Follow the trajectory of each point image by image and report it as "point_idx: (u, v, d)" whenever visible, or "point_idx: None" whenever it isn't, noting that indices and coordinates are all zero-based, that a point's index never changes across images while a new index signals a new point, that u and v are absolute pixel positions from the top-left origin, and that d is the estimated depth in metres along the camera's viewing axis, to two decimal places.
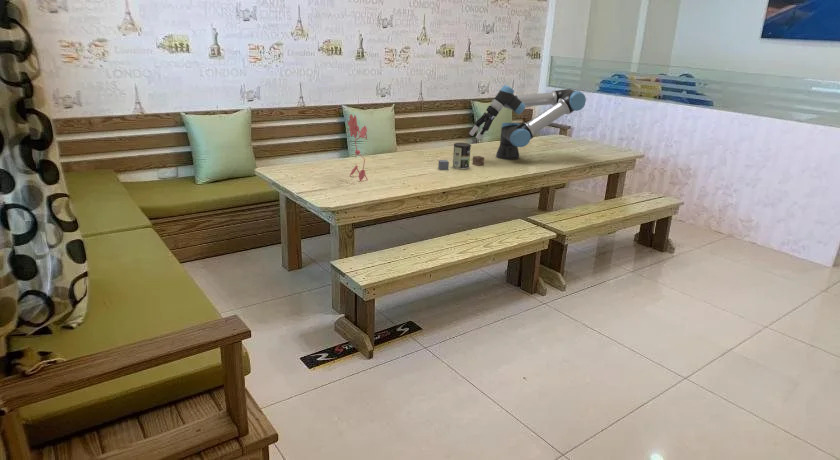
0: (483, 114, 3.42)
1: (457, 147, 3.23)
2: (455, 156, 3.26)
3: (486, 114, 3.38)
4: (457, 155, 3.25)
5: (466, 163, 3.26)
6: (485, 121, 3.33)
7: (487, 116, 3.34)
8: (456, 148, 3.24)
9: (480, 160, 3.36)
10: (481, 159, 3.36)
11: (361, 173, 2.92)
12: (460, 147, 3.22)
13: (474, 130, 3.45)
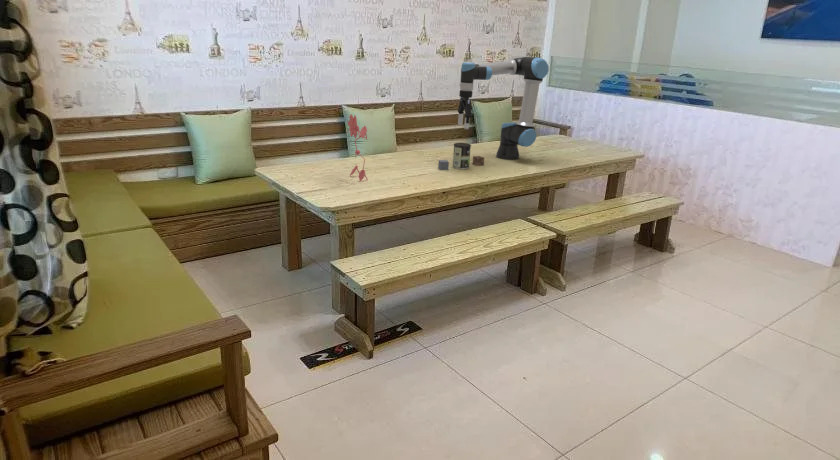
0: (460, 100, 3.24)
1: (457, 147, 3.23)
2: (455, 156, 3.26)
3: (462, 99, 3.20)
4: (457, 155, 3.25)
5: (466, 163, 3.26)
6: (464, 108, 3.15)
7: (463, 102, 3.16)
8: (456, 148, 3.24)
9: (480, 160, 3.36)
10: (481, 159, 3.36)
11: (361, 173, 2.92)
12: (460, 147, 3.22)
13: (461, 119, 3.28)
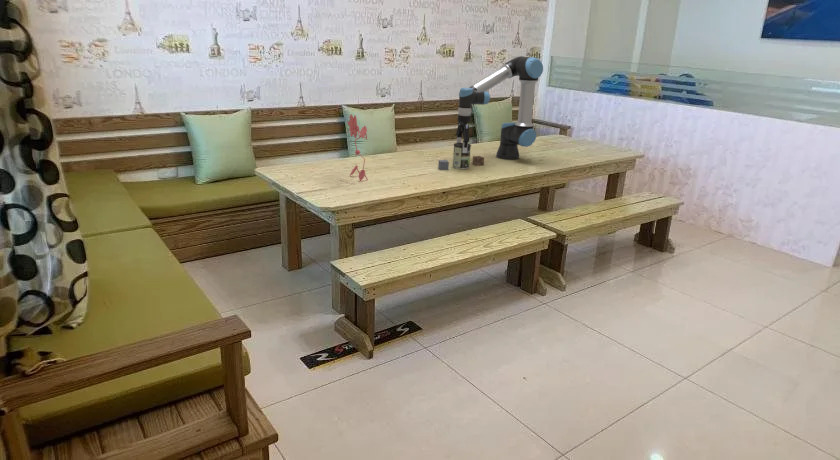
0: (458, 124, 3.28)
1: (457, 147, 3.23)
2: (455, 156, 3.26)
3: (460, 123, 3.24)
4: (457, 155, 3.25)
5: (466, 163, 3.26)
6: (462, 132, 3.20)
7: (462, 126, 3.20)
8: (456, 148, 3.24)
9: (480, 160, 3.36)
10: (481, 159, 3.36)
11: (361, 173, 2.92)
12: (460, 147, 3.22)
13: (459, 142, 3.32)
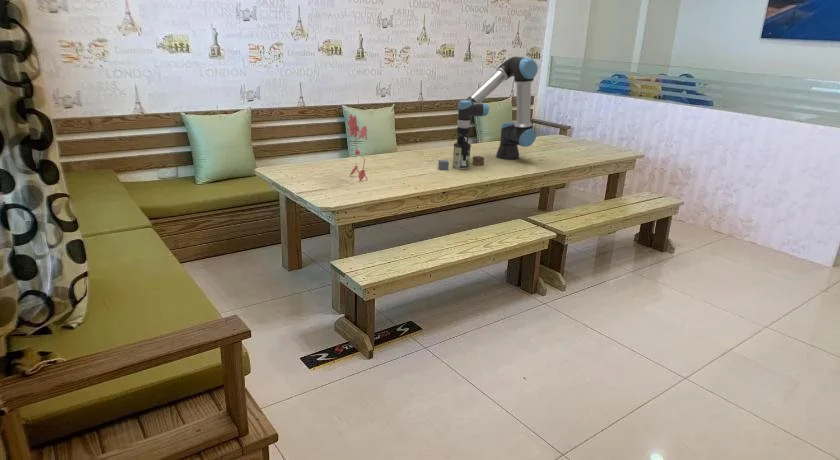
0: None
1: (457, 147, 3.23)
2: (455, 156, 3.26)
3: (460, 135, 3.27)
4: (457, 155, 3.25)
5: (466, 163, 3.26)
6: None
7: (461, 139, 3.23)
8: (456, 148, 3.24)
9: (480, 160, 3.36)
10: (481, 159, 3.36)
11: (361, 173, 2.92)
12: (460, 147, 3.22)
13: None
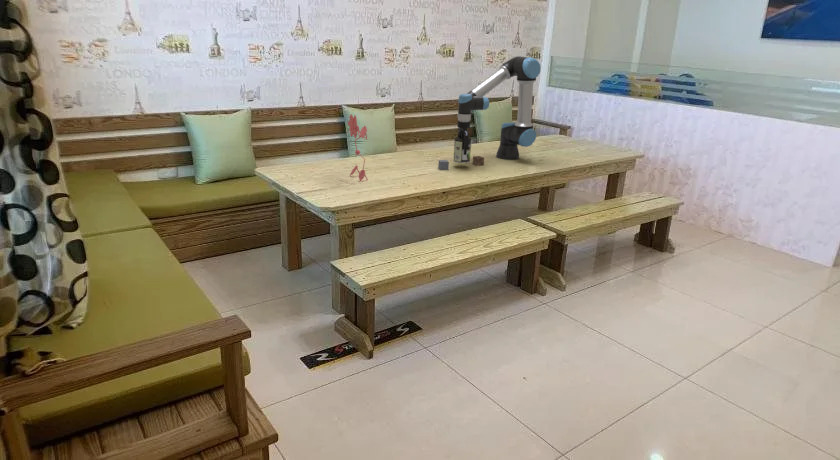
0: (458, 130, 3.30)
1: (458, 141, 3.22)
2: (456, 150, 3.25)
3: (460, 129, 3.26)
4: (458, 149, 3.24)
5: (467, 157, 3.25)
6: (462, 139, 3.22)
7: (461, 133, 3.22)
8: (457, 142, 3.23)
9: (480, 160, 3.36)
10: (481, 159, 3.36)
11: (361, 173, 2.92)
12: (461, 141, 3.21)
13: None
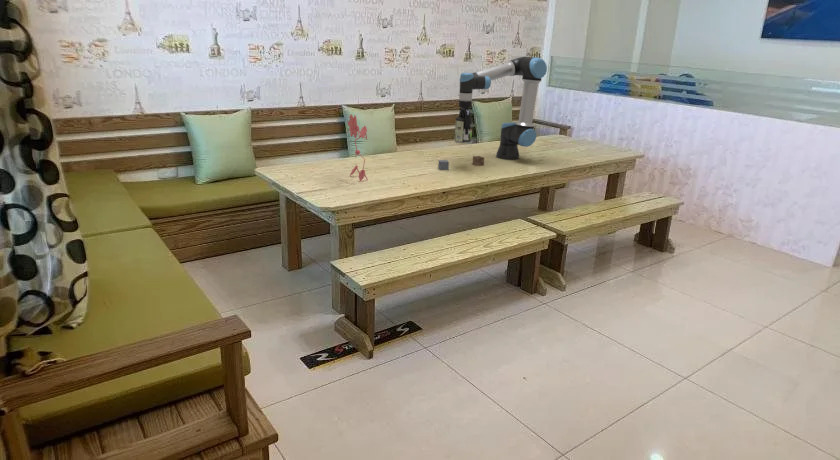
0: None
1: (459, 121, 3.18)
2: (457, 130, 3.21)
3: (461, 109, 3.21)
4: (459, 129, 3.19)
5: (468, 137, 3.21)
6: None
7: (463, 112, 3.18)
8: (458, 122, 3.19)
9: (480, 160, 3.36)
10: (481, 159, 3.36)
11: (361, 173, 2.92)
12: (462, 121, 3.17)
13: None
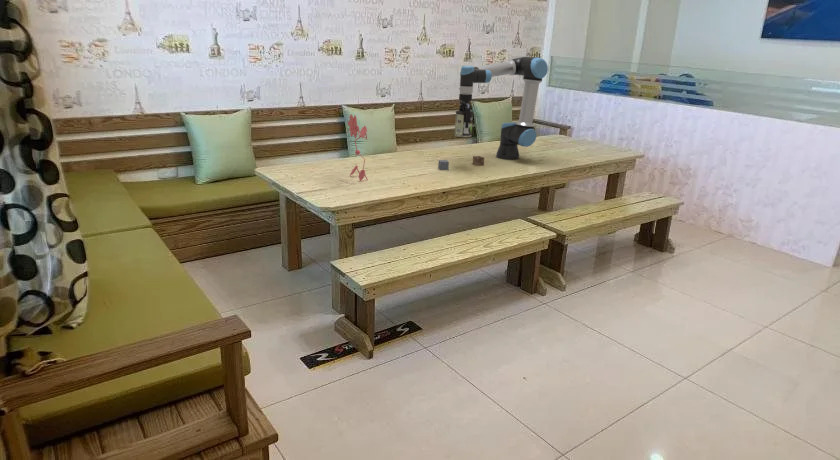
0: (460, 104, 3.24)
1: (459, 114, 3.16)
2: (457, 124, 3.19)
3: (462, 102, 3.20)
4: (459, 122, 3.18)
5: (468, 131, 3.20)
6: (464, 112, 3.16)
7: (463, 106, 3.16)
8: (458, 115, 3.17)
9: (480, 160, 3.36)
10: (481, 159, 3.36)
11: (361, 173, 2.92)
12: (462, 114, 3.16)
13: None
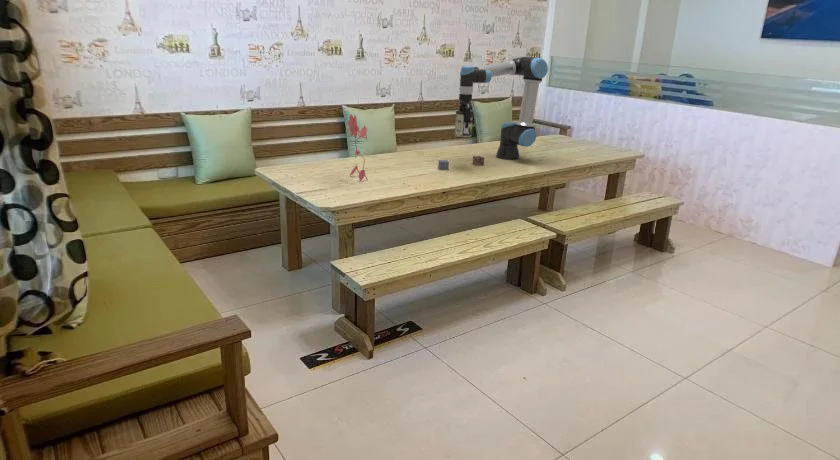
0: (460, 104, 3.24)
1: (459, 114, 3.16)
2: (457, 124, 3.19)
3: (462, 102, 3.20)
4: (459, 122, 3.18)
5: (468, 131, 3.20)
6: (464, 112, 3.16)
7: (463, 106, 3.16)
8: (458, 115, 3.17)
9: (480, 160, 3.36)
10: (481, 159, 3.36)
11: (361, 173, 2.92)
12: (462, 114, 3.16)
13: None
